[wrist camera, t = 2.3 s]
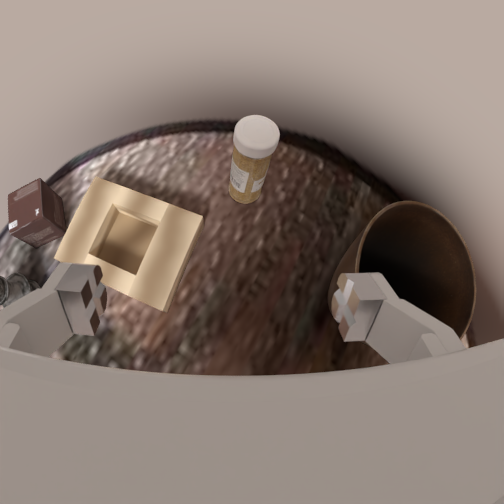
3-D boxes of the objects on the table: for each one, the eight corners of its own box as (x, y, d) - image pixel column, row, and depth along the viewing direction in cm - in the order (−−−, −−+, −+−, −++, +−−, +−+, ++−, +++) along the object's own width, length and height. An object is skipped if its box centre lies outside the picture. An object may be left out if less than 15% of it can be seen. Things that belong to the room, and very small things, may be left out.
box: (63, 198, 37) (41, 176, 30) (68, 235, 36) (43, 216, 29) (32, 213, 36) (7, 193, 29) (35, 249, 35) (8, 234, 28)
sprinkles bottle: (264, 201, 41) (286, 146, 28) (231, 207, 40) (239, 151, 27) (256, 172, 42) (273, 111, 29) (224, 177, 41) (230, 115, 28)
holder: (203, 226, 39) (202, 216, 35) (167, 312, 35) (162, 311, 32) (103, 187, 38) (95, 176, 35) (65, 264, 35) (54, 258, 32)
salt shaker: (33, 269, 34) (-18, 247, 23) (50, 302, 33) (-2, 289, 22) (9, 293, 33) (-43, 278, 21) (26, 327, 32) (-28, 321, 20)
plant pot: (402, 260, 41) (476, 227, 26) (388, 361, 37) (468, 367, 22) (312, 233, 40) (364, 179, 25) (289, 344, 36) (340, 352, 21)
